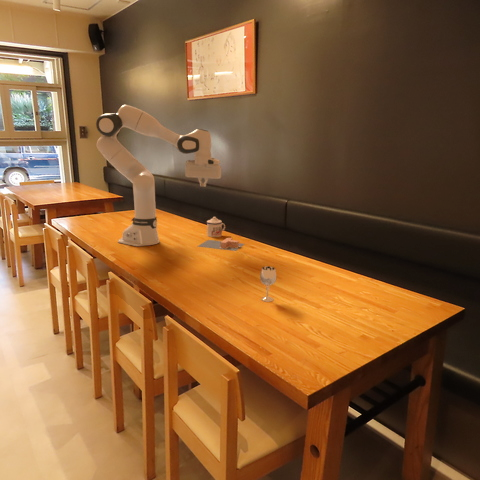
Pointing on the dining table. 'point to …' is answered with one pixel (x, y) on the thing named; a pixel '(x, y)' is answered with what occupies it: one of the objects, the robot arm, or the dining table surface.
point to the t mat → (218, 245)
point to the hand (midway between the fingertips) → (203, 186)
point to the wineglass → (268, 280)
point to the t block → (229, 243)
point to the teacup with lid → (214, 227)
